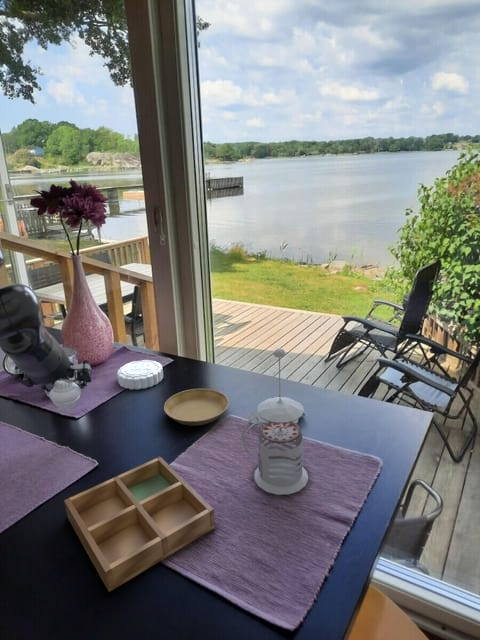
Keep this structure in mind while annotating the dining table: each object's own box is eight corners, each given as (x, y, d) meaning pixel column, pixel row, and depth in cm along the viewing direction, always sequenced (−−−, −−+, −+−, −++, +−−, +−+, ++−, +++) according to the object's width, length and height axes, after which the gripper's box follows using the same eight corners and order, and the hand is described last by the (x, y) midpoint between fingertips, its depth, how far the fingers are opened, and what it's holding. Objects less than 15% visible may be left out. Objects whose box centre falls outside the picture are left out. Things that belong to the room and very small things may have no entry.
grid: (109, 592, 59) (105, 572, 58) (67, 518, 72) (63, 500, 71) (215, 527, 69) (214, 509, 68) (162, 472, 82) (160, 456, 81)
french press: (315, 490, 76) (318, 357, 68) (249, 500, 74) (244, 365, 66) (299, 455, 85) (299, 335, 77) (240, 464, 83) (234, 341, 75)
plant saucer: (187, 393, 111) (186, 383, 110) (240, 404, 104) (239, 394, 104) (151, 423, 98) (150, 412, 97) (209, 437, 92) (208, 427, 91)
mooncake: (165, 368, 125) (164, 357, 124) (160, 388, 114) (159, 376, 112) (123, 371, 125) (121, 359, 123) (113, 391, 113) (112, 378, 112)
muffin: (85, 399, 96) (80, 369, 93) (80, 413, 90) (75, 382, 88) (55, 402, 95) (50, 372, 92) (48, 417, 89) (42, 385, 87)
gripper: (82, 333, 80) (102, 366, 95) (-1, 340, 78) (32, 371, 93) (81, 372, 77) (101, 399, 92) (-6, 380, 75) (29, 406, 90)
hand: (66, 385), depth 92 cm, fingers closed on muffin, 6 cm apart
